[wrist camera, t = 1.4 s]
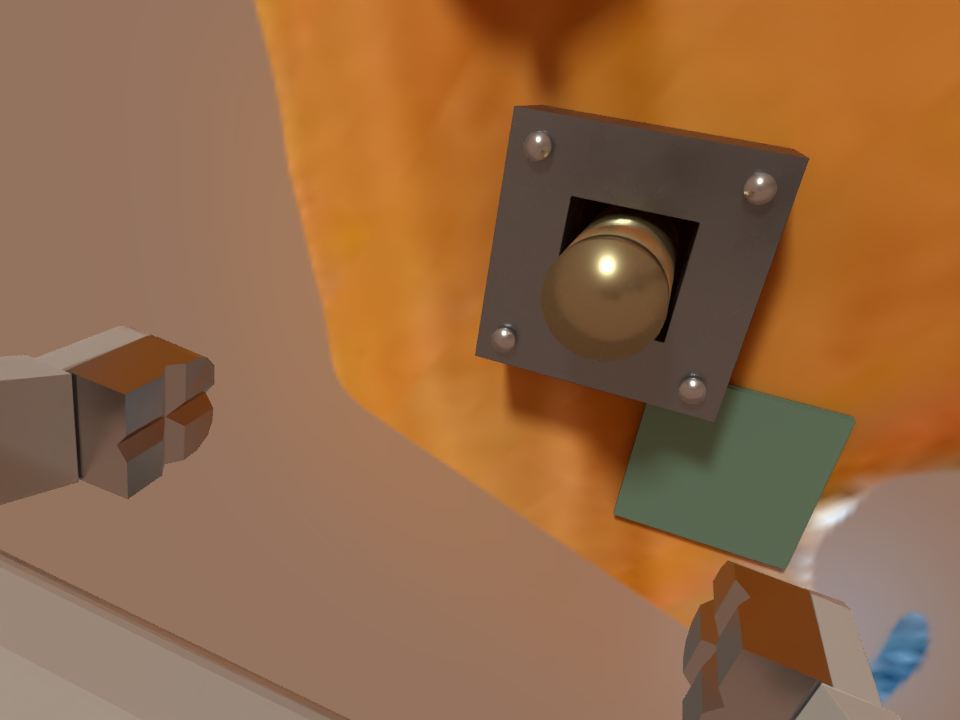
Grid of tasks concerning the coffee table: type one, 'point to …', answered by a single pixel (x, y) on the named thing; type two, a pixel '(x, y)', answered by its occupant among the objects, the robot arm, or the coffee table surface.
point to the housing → (648, 187)
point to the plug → (612, 284)
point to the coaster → (734, 472)
